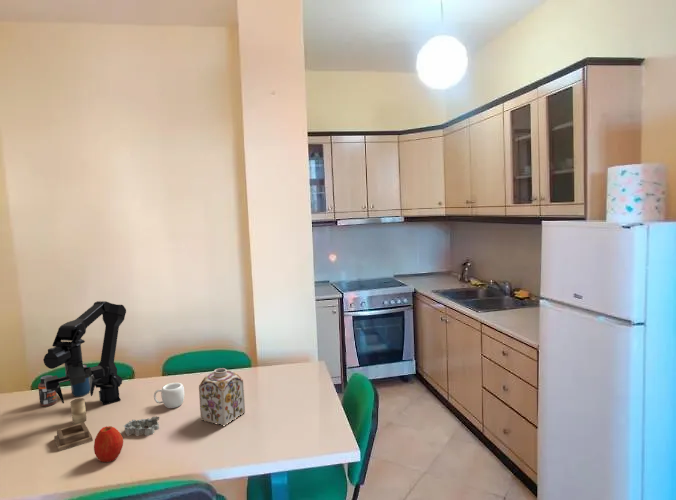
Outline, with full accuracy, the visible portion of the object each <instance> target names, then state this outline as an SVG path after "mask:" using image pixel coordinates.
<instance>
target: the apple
mask: <svg viewBox="0 0 676 500" xmlns="http://www.w3.org/2000/svg"><path fill="white" fill-rule="evenodd" d="M123 446H124V437H123V435H122V434H121V432H120V431H119V430H118V429H117V428H115V427H114V426H109V425H108V426H107V425H106V426H104V427H102V428H101V429H100V430H99V431H98V433H97V434H96V436H95V438H94V445H93V452H94V454H95V457H96V458H97V460H98V461H100V462H101V463H111V462H114V461H115V460H116V459H117V458H119V457H120V456H119V455H120V454H121V452H122V450H123Z"/></svg>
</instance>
